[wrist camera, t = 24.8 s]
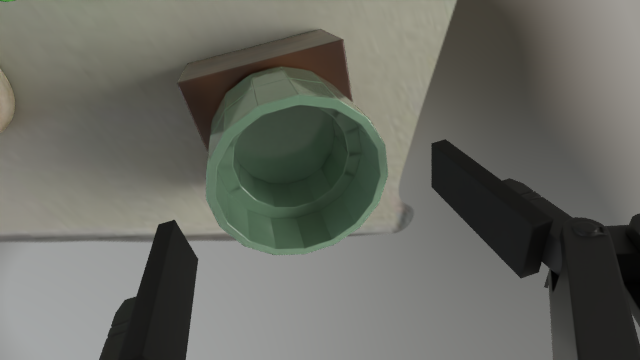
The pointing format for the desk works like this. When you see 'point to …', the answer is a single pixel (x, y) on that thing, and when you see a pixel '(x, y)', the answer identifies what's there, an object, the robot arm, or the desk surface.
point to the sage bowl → (292, 163)
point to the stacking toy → (6, 102)
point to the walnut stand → (230, 69)
